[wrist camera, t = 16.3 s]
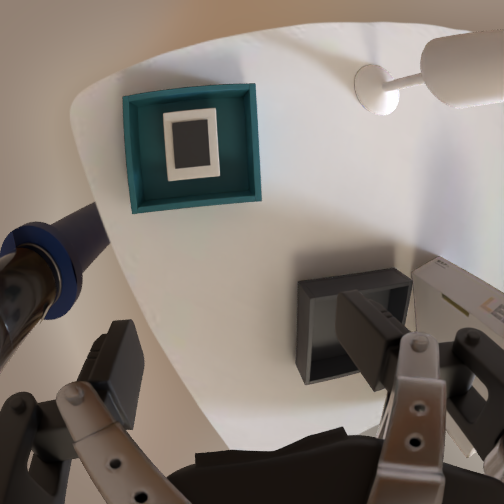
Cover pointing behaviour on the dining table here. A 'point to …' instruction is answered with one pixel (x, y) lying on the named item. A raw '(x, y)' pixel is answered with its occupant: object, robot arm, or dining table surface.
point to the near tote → (229, 147)
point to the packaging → (456, 315)
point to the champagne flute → (443, 74)
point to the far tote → (324, 312)
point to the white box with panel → (191, 144)
